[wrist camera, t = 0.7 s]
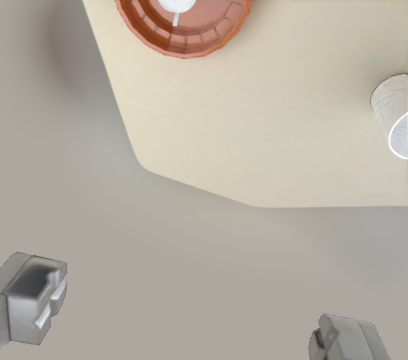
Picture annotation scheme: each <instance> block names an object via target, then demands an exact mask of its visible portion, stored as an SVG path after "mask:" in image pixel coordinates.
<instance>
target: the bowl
mask: <svg viewBox="0 0 408 360" xmlns="http://www.w3.org/2000/svg"><path fill="white" fill-rule="evenodd" d="M251 2H252V0H196V1H195V3H194V5H193V6H192V7H191V8H190V9H189V10H188V11H186V12H183V13H179V17H178V23H177V26H173V20H174V15H175V13H172V12H169V11H167V10H165V9H164V8H163V7H162V6H161V5H160V3H159V2H158V0H115V3H116V6H117V9H118V11H119V13H120V14H121V16H122V18H123V19H124V21H125V23H126V24H127V26H128V28H129V29H130V30H131V31H132V32H133V33H134V34H135V35H136V36H137V37H138V38H139V39H140V40H141V41H142V42H143V43H144V44H145V45H146V46H148V47H150V48H152V49H154V50H156V51H158V52H160V53H161V54H163V55H167V56H172V57H177V58H182V59H187V58H195V57H203V56H206V55H208V54H210V53H212V52H214V51H216V50H218V49H220V48H222V47H223V46H224V45H226V44H227V43H228V42H229V41H230V40H231V39H232V38H233V37H234V36H235V35H236V34H237V33H238V32H239V30H240V28H241V26H242V24H243V23H244V21H245V19H246V17H247V15H248V14H249V11H250V7H251Z"/></svg>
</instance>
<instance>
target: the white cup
mask: <svg viewBox="0 0 408 360" xmlns="http://www.w3.org/2000/svg"><path fill="white" fill-rule="evenodd" d="M371 105H372V109H373V112H374V114H375V117H376V120H377V122H378V124H379V126H380V129H381V131H382V133H383V135H384V137H385V139H386V141H387V143H388V145H389V147H390V149H391V151H392V152H393V153H394V154H395V155H397V156H399V157H401V158H404V159H408V75H406V74H401V75H396V76H392V77H390V78H388V79H387V80H385V81H383V82H382V83H380V85H379V86H378V87H377V88H376V89H375V91H374V92H373V95H372V99H371Z"/></svg>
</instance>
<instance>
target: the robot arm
mask: <svg viewBox="0 0 408 360" xmlns="http://www.w3.org/2000/svg"><path fill="white" fill-rule="evenodd" d="M66 273H67V263H65V262H61V261H57V260H53V259H48V258H44V257H39V256H35V255H29V254H25V253H20V252H16V253H14V254H12V255H11V256H10V258H9V259H8V260H7V261H6V262H5V263H4V264H3V266H2V267H1V268H0V349H1V348H3V347H4V346H5V345H7V344H8V343H9V341H15V342H22V343H27V344H34V345H40V344H41V342H42V341H43V339H44V337H45V335H46V333H47V332H48V330H49V328H50V326H51V317H53V316H54V315H56V314H57V313H58V312H59V309H60V308H61V306H62V304H63V301H64V298H65V294H66V289H67V282H66V281H65V280H64V276H65V275H66ZM318 323H319V326H320V328H318V329H317V330H315V331H313V333H312V335H311V337H310V341H309V356H310V360H391V359H390V357H389V355H388V353H387V351H386V348H385V346H384V344H383V342H382V340H381V338H380V336H379V334H378V331H377V329H376V327H375V325H374V324H372V322H367V321H361V320H354V319H350V318H345V317H340V316H335V315H329V314H323V315H322V316H321V317H320V319H319V322H318Z"/></svg>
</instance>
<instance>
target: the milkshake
mask: <svg viewBox="0 0 408 360" xmlns="http://www.w3.org/2000/svg"><path fill="white" fill-rule="evenodd" d="M195 1H196V0H158V2H159V3H160V5H161V6H162V7H163V8H164V9H165V10H167V11H169V12H172V13H175V15H174V20H173V26H177V23H178V17H179V13H183V12H186V11H188V10H189V9H190V8H191V7H192V6H193V5H194V3H195Z"/></svg>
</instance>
